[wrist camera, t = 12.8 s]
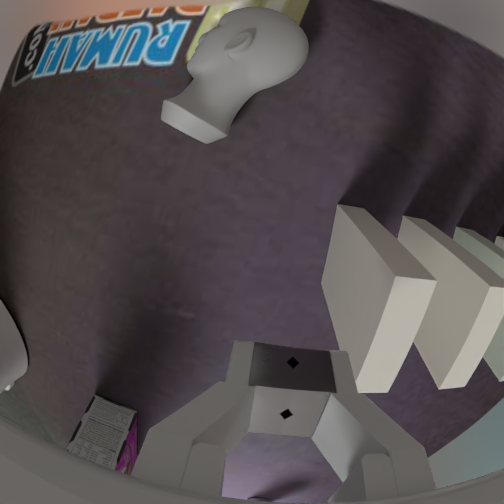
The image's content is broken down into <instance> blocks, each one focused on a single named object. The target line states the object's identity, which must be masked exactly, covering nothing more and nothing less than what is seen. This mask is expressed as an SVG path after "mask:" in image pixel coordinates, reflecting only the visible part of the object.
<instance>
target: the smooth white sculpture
mask: <svg viewBox="0 0 504 504" xmlns="http://www.w3.org/2000/svg"><path fill="white" fill-rule="evenodd" d="M308 51H309V45H308V40H307V37H306V35H305V33H304V31H303V30H302V28H301V27H300V26H299V25H298V24H297V23H296V22H295V21H293V20H292V19H291V18H289V17H288V16H286V15H284V14H282V13H280V12H277V11H275V10H271V9H267V8H260V7H247V8H241V9H237V10H234V11H231V12H229V13H227V14H225V15H224V16H223V17H222V18H221V19H220V21H219V24H218V27H215V28H213V29H212V30H210V31H209V32H207V33H205V34H203V35H202V36H201V37H200V38H199V45H198V46H197V47H196V49H195V53H194V54H193V56H192V58H191V60H190V61H189V62H188V64H187V69H188V71H189V73H190V74H191V75H192V77H193V78H194V79H193V81H192V82H191V83H190V84H189V85H188V86H187V88H186V89H185V90H184V91H183V92H182V93H181V94H179V95H178V96H176V97H173V98H170V99H167V100H164V101H163V107H162V114H161V120H163V121H164V122H166V123H167V124H169V125H171V126H173V127H174V128H176V129H178V130H180V131H182V132H184V133H186V134H188V135H189V136H191V137H193V138H195V139H197V140H199V141H201V142H203V143H206V144H208V143H211V142H213V141H216V140H218V139H221V138H224V137H226V136H228V133H229V130H230V126H231V124H232V121H233V119H234V117H235V116H236V114H237V113H238V111H239V110H240V108H241V107H242V106H243V105H244V103H245V102H246V101H247V100H248V99H249V98H250V97H251V96H252V95H254V94H255V93H256V92H258V91H260V90H263V89H266V88H269V87H272V86H274V85H277V84H279V83H281V82H283V81H285V80H287V79H288V78H290V77H291V76H293V75H294V74H295V73H297V72H298V71H299V70H300V68H301V67H302V66H303V64H304V63H305V61H306V59H307V56H308Z"/></svg>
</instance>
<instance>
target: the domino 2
mask: <svg viewBox="0 0 504 504" xmlns="http://www.w3.org/2000/svg"><path fill="white" fill-rule="evenodd" d="M397 240H398V241H399V242H400V243H401V244H402V245H403V246H404V247H405V248H406V249H407V250H408V251H409V252H410V253H411V254H412V255H413V256H414V257H415V258H416V259H417V260H418V261H419V262H420V263H421V264H422V265H423V266H424V267H425V268H426V269H427V270H428V271H429V273H430V274H431V275H432V276H433V277H434V278H435V279H436V280H437V283H436V286H435V289H434V291H433V294H432V297H431V299H430V302H429V304H428V307H427V310H426V312H425V315H424V317H423V319H422V322H421V324H420V327H419V329H418V331H417V334H416V336H415V338H414V340H413V342H414V344H415V346H416V347H417V349H418V351H419V353H420V355H421V357H422V358H423V360H424V362H425V364H426V366H427V368H428V370H429V372H430V373H431V375H432V377H433V379H434V381H435V383H436V385H437V387H438V389H447V388H457V387H465V385H466V384H467V382H468V380H469V379H470V377H471V376H472V374H473V372H474V371H475V369H476V367H477V365H478V364H479V362H480V360H481V359H482V357H483V355H484V353H485V351H486V349H487V348H488V346H489V344H490V342H491V340H492V338H493V336H494V334H495V332H496V330H497V328H498V326H499V324H500V322H501V320H502V318H503V316H504V279H503V278H501V277H500V276H499V275H498V274H497V273H495V272H494V271H493V270H492V269H491V268H489V267H488V266H487V265H486V264H484V263H483V262H482V261H481V260H479V259H478V258H477V257H475V256H474V255H473V254H472V253H470V252H469V251H468V250H466V249H465V248H464V247H462V246H461V245H460V244H458V243H457V242H456V241H454V240H453V239H452V238H450V237H449V236H447V235H446V234H445V233H443V232H442V231H440V230H439V229H438V228H436V227H435V226H433V225H432V224H430V223H429V222H428V221H426V220H424V219H419V218H414V217H409V216H404V215H403V218H402V222H401V226H400V230H399V234H398V238H397Z"/></svg>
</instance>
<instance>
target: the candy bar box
mask: <svg viewBox="0 0 504 504" xmlns="http://www.w3.org/2000/svg"><path fill="white" fill-rule="evenodd" d="M137 413H138V412H137V411H136V410H134V409H132V408H130V407H127V406H124V405H121V404H118V403H115V402H113V401H110V400H107V399H105V398H103V397H100V396H98V395H94V396H93V398H92V400H91V402H90V403H89V405H88V407H87V409H86V411H85V413H84V415H83V416H82V418H81V420H80V422H79V424H78V426H77V428H76V430H75V432H74V434H73V436H72V438H71V440H70V442H69V444H68V446H67V448H66V451H68V452H71V453H73V454H75V455H77V456H80V457H82V458H85V459H87V460H89V461H92V462H94V463H97V464H100V465H102V466H105V467H108V468H110V469H113V470H116V471H119V472H122V473H125V474H128V475H131V473H132V470H133V468H134V465H135V463H136V460H137Z"/></svg>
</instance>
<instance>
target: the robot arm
mask: <svg viewBox="0 0 504 504" xmlns="http://www.w3.org/2000/svg"><path fill="white" fill-rule="evenodd" d="M253 348H254V349H253ZM27 367H28V359H27V353H26V349H25V346H24V343H23V340H22V338H21V335H20V333H19V331H18V329H17V327H16V325H15V323H14V321H13V319H12V317H11V316H10V314H9V312H8V310H7V309H6V307H5V306H4V304H3V303H2V301H1V300H0V394H1V393H2V392H3V390H4V389H5V390H9V389H10V388H11V387H12V386H13V385H14V381H15V380H16V379H18V378H19V377H21V376H22V375H24V374H25V372H26V371H27ZM247 432H256V433H268V434H281V435H292V436H304V437H312V440H313V441H314V443H315V444H316V445H317V447H318V448H319V450H320V451H321V453H322V454H323V455H324V457H325V458H326V460H327V461H328V462H329V464H330V465H331V467H332V468H333V469H334V471H335V472H336V473H337V475H338V476H339V478H340V479H341V480H342V482H343V483H342V484H341V486H340V487H339V488H338V489H337V490H336V492H335V493H334V494H333V495H332V496H331V497H330V499H329V500H328V503H280V502H265V501H253V500H244V499H235V498H228V497H222V489H223V479H224V468H225V458H226V455H227V454H228V453H229V452H230V451H231V450H232V449H233V448H234V447H235V446H236V445H237V444H238V443H239V442H240V441H241V440H242V439H243V437H244V436H245V435H246V434H247ZM0 504H504V469H501V470H499V471H496V472H493V473H490V474H488V475H485V476H482V477H479V478H476V479H472V480H469V481H466V482H462V483H459V484H455V485H452V486H447V487H444V488H440V489H436V486H435V482H434V479H433V475H432V472H431V468H430V465H429V461H428V458H427V455H426V451H425V448H424V447H423V446H422V445H421V444H420V443H418V442H417V441H416V440H415V439H414V438H413V437H412V436H410V435H409V434H408V433H407V432H406V431H405V430H404V429H402V428H401V427H400V426H399V425H398V424H397V423H396V422H394V421H393V420H392V419H391V418H390V417H389V416H388V415H387V414H385V413H384V412H383V411H382V410H381V409H380V408H379V407H378V406H376V405H375V404H374V403H373V402H372V401H371V400H370V399H369V398H368V397H366V396H365V395H364V394H358V390H357V386H356V382H355V378H354V374H353V370H352V366H351V362H350V358H349V354H348V352H347V351H338V350H328V351H327V350H315V349H303V348H293V347H286V346H279V345H272V344H265V343H258V342H255V343H254V342H250V341H243V340H237V339H235V341H234V343H233V347H232V352H231V356H230V361H229V365H228V370H227V374H226V379H225V382H221V381H219V382H217V383H216V384H214V385H213V386H212V387H210V388H209V389H207V390H206V391H205V392H203V393H202V394H200V395H199V396H197V397H196V398H195V399H193V400H192V401H190V402H189V403H187V404H186V405H184V406H183V407H182V408H180V409H179V410H177V411H176V412H174V413H173V414H171V415H170V416H168V417H167V418H165V419H164V420H162V421H161V422H159V423H157V424H156V425H154V426H153V427H151V428H150V429H149V430H148V433H147V435H146V438H145V440H144V443H143V445H142V448H141V450H140V453H139V455H138V458H137V460H136V463H135V465H134V468H133V470H132V473H131V475H128V474H125V473H122V472H119V471H116V470H113V469H110V468H108V467H105V466H102V465H100V464H97V463H94V462H92V461H89V460H87V459H85V458H82V457H80V456H77V455H75V454H73V453H71V452H68V451H66V450H64V449H62V448H60V447H58V446H55V445H53V444H51V443H49V442H47V441H45V440H43V439H41V438H40V437H38V436H36V435H34V434H32V433H30V432H28V431H27V430H25V429H23V428H21V427H20V426H18V425H16V424H14V423H13V422H11V421H9V420H8V419H6V418H4V417H3V416H1V415H0Z"/></svg>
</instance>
